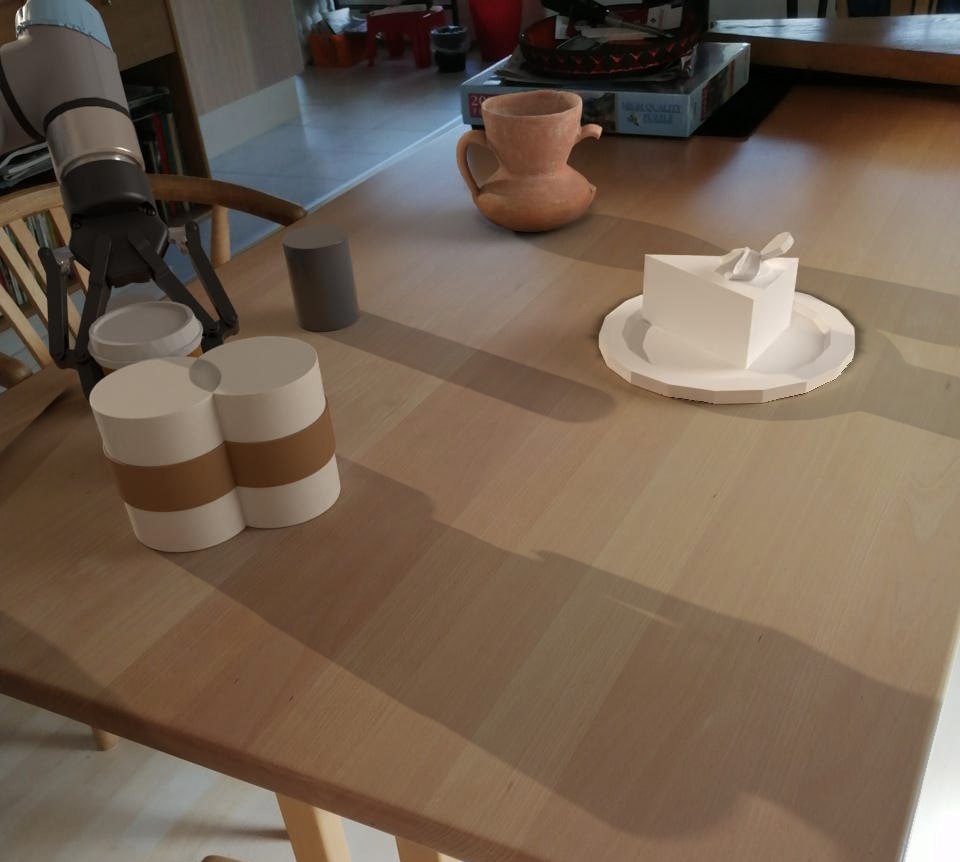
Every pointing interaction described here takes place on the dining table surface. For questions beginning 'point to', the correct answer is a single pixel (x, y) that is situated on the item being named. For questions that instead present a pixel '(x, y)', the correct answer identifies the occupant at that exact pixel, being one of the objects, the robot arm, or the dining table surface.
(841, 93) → the dining table surface
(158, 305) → the disposable coffee cup
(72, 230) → the robot arm
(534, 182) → the ceramic jug
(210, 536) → the white banded double cylinder
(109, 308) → the grey tumblers
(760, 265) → the white wedge on plate
